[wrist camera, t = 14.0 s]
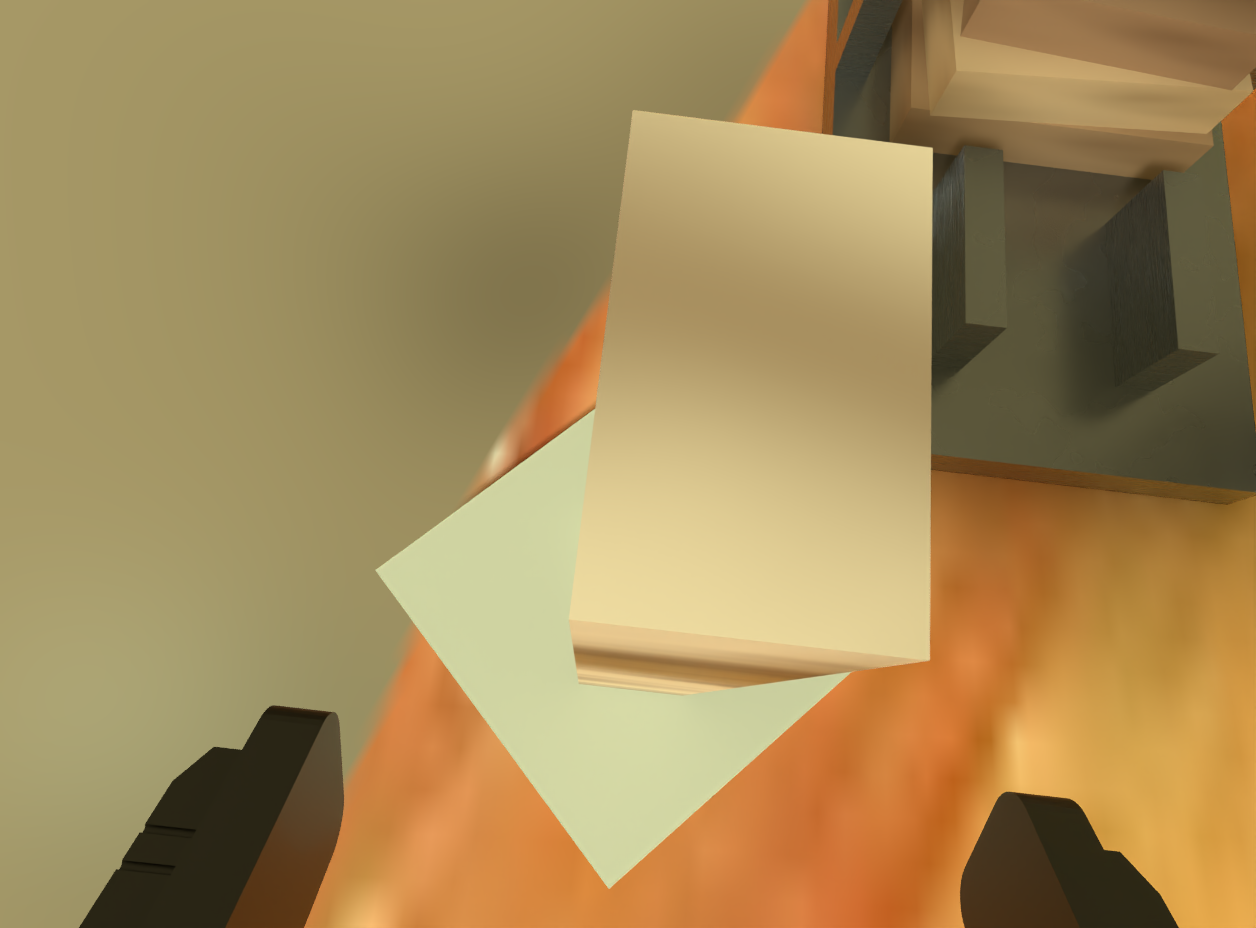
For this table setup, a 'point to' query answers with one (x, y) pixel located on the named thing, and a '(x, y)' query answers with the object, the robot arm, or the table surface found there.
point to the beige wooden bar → (760, 413)
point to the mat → (573, 668)
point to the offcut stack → (1071, 79)
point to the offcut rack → (1070, 306)
